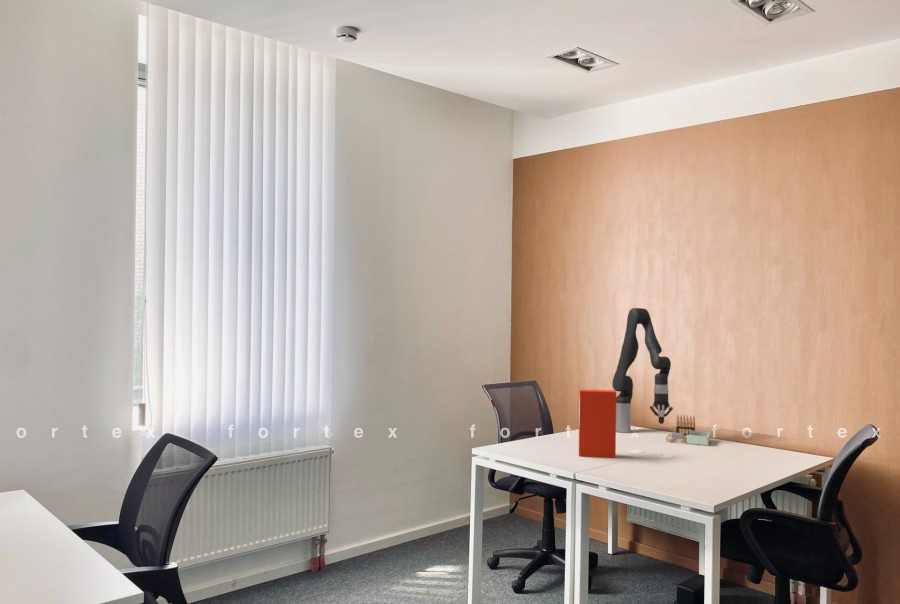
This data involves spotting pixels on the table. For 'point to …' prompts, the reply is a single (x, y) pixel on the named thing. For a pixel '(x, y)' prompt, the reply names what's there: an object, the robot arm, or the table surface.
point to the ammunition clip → (685, 425)
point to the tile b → (678, 435)
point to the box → (698, 438)
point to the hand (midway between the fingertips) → (661, 423)
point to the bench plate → (670, 439)
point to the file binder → (597, 423)
